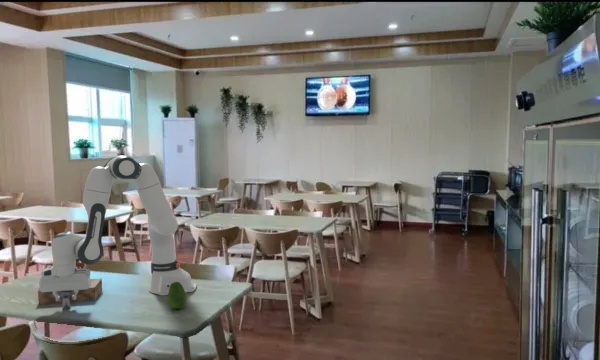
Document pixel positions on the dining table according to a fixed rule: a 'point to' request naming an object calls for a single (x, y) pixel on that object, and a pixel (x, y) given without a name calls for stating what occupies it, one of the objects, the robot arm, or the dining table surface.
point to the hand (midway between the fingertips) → (66, 299)
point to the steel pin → (66, 298)
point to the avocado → (176, 296)
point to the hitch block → (81, 295)
